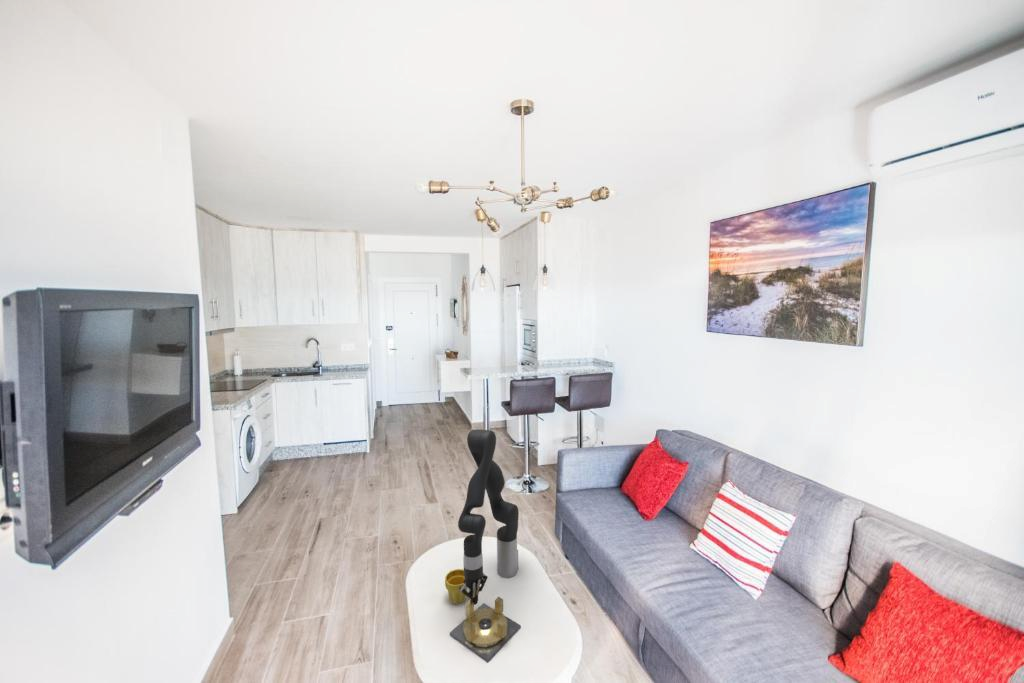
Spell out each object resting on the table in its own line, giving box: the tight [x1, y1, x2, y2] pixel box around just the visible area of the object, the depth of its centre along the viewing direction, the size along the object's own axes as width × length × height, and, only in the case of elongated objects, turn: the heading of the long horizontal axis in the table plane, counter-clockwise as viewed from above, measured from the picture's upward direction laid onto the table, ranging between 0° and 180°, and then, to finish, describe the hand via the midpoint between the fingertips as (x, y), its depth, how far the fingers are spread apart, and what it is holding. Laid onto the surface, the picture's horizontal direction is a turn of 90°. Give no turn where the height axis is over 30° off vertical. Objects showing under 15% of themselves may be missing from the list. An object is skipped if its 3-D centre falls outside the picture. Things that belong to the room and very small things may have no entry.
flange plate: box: [449, 602, 522, 663], centre depth 157 cm, size 19×19×1 cm
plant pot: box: [444, 568, 469, 605], centre depth 174 cm, size 10×10×10 cm
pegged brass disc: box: [463, 596, 508, 647], centre depth 157 cm, size 19×19×6 cm
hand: (474, 603), depth 164 cm, fingers closed
